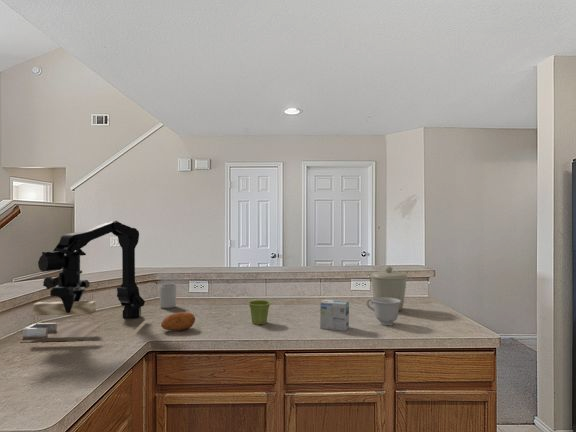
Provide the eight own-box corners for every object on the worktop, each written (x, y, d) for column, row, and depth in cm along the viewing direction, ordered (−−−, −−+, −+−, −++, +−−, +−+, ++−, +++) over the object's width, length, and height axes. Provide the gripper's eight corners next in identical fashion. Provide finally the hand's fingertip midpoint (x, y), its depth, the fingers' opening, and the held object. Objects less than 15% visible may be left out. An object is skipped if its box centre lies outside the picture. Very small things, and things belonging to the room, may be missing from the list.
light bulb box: (349, 327, 158) (349, 300, 158) (346, 331, 152) (346, 303, 152) (323, 324, 161) (323, 298, 162) (319, 328, 155) (319, 301, 155)
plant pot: (274, 321, 165) (274, 301, 166) (263, 327, 157) (264, 305, 157) (255, 319, 169) (255, 299, 169) (244, 324, 161) (244, 303, 161)
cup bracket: (56, 330, 145) (56, 322, 145) (45, 337, 137) (46, 328, 137) (34, 331, 144) (34, 323, 144) (22, 337, 136) (22, 329, 136)
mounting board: (104, 325, 158) (104, 321, 158) (83, 341, 137) (83, 336, 137) (50, 326, 156) (50, 322, 156) (19, 342, 135) (19, 338, 135)
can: (171, 309, 188) (171, 284, 188) (157, 308, 189) (157, 283, 189) (178, 306, 195) (178, 282, 195) (164, 305, 196) (165, 281, 197)
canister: (412, 308, 193) (412, 265, 193) (401, 315, 178) (401, 269, 178) (377, 303, 203) (377, 263, 203) (364, 310, 187) (364, 266, 188)
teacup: (372, 317, 173) (372, 295, 173) (405, 323, 164) (405, 299, 165) (360, 323, 163) (360, 299, 163) (395, 329, 155) (395, 304, 155)
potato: (196, 331, 151) (196, 312, 151) (161, 334, 146) (162, 315, 146) (193, 326, 157) (193, 308, 157) (160, 329, 152) (160, 311, 153)
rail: (95, 311, 145) (95, 300, 145) (91, 314, 141) (91, 303, 141) (38, 312, 142) (38, 301, 142) (32, 315, 138) (32, 304, 138)
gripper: (60, 265, 150) (59, 306, 150) (34, 272, 132) (33, 318, 132) (90, 265, 152) (89, 305, 151) (68, 271, 133) (68, 317, 133)
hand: (70, 311), depth 142 cm, fingers closed on rail, 4 cm apart
